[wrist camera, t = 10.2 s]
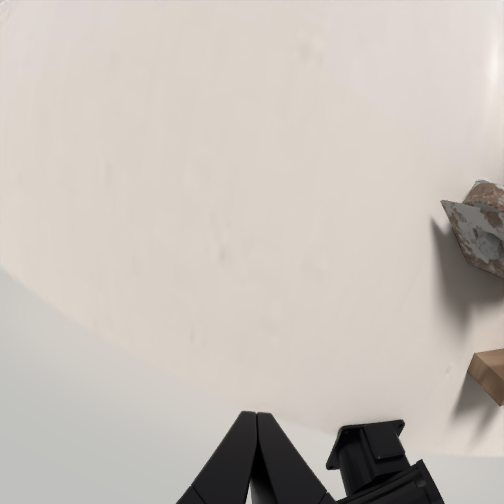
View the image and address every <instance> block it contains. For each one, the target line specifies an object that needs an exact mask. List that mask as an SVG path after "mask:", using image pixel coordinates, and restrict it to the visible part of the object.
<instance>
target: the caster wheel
mask: <svg viewBox="0 0 504 504" xmlns="http://www.w3.org/2000/svg"><path fill="white" fill-rule="evenodd" d="M440 202H441V204H442V206H443V208H444V210H445V212H446V214H447V216H448V218H449V221H450V223H451V225H452V227H453V230H454V232H455V234H456V237H457V239H458V241H459V244H460V246H461V249H462V251H463V254H464V256H465V259H466V261H467V262H468V263H469V264H471V265H473V266H476V267H478V268H481V269H483V270H486V271H488V272H490V273H493V274H495V275H497V276H500V277H502V278H504V186H502V185H498V184H494V183H490V182H488V181H485V180H482V179H478V180H477V181H476V182H475V184H474V186H473V187H472V189H471V191H470V192H469V194H468V196H467V197H466V199H465V200H464V202H463V204H460V203H455V202H450V201H445V200H442V201H440Z"/></svg>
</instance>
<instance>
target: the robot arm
mask: <svg viewBox="0 0 504 504" xmlns="http://www.w3.org/2000/svg"><path fill="white" fill-rule="evenodd" d="M404 426H405V423H404V421H403V420H395V421H387V422H379V423H369V424H359V425H346V426H343V427H342V428H341V429H340V431H339V433H338V436H337V439H336V441H335V444H334V446H333V449H332V451H331V454H330V456H329V458H328V461H327V463H326V468H327V470H336V469H340V471H341V476H342V480H343V484H344V488H345V492H346V495H347V497H345V498H343V499H340V500H338V501H335V500H334V499H333V498H332V496H331V495H330V493H328V492H327V490H326V489H325V487H324V486H323V485H322V483H321V482H320V481H319V479H318V478H317V477H316V476H315V474H314V473H313V472H312V470H311V469H310V468H309V466H308V465H307V463H306V462H305V461H304V459H303V458H302V457H301V455H300V454H299V453H298V451H297V450H296V449H295V447H294V446H293V444H292V443H291V441H290V440H289V438H288V437H287V436H286V434H285V433H284V431H283V430H282V429H281V427H280V426H279V424H278V423H277V421H276V420H275V418H274V417H273V415H272V414H271V413H265V412H258V413H257V414H256V413H255V412H252V411H242V412H241V413H240V414H239V416H238V418H237V419H236V421H235V422H234V424H233V425H232V427H231V428H230V430H229V431H228V433H227V434H226V436H225V437H224V439H223V440H222V442H221V443H220V445H219V446H218V447H217V449H216V450H215V452H214V453H213V455H212V456H211V458H210V459H209V460H208V462H207V463H206V465H205V466H204V467H203V469H202V470H201V472H200V473H199V474H198V476H197V477H196V478H195V480H194V481H193V483H192V484H191V486H190V487H189V488H188V489H187V490H186V492H185V493H184V494H183V496H182V497H181V498H180V499H179V500H178V502H177V503H176V504H245V503H246V499H247V494H248V489H249V484H250V486H251V497H252V504H445V503H444V501H443V499H442V497H441V495H440V493H439V491H438V489H437V487H436V485H435V483H434V481H433V479H432V477H431V475H430V473H429V471H428V470H427V468H426V466H425V464H424V462H423V460H422V459H421V460H419V461H417V462H416V464H414V465H412V466H410V464H409V462H408V459H407V457H406V455H405V450H404V448H403V446H402V444H401V442H400V440H399V438H398V437H399V435H400V433H401V432H402V430H403V428H404ZM326 492H327V493H326Z"/></svg>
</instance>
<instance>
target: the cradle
mask: <svg viewBox="0 0 504 504" xmlns="http://www.w3.org/2000/svg"><path fill="white" fill-rule="evenodd" d="M467 372H468V373H469V374H470V375H471V376H472V377H473V378H474V379H475V380H476V381H477V382H478V383H479V384H480V385H481V386H482V387H483V388H484V390H485V391H486V392H487V393H488V394H489V395H490V396H491V397H492V398H493V399H494V400H495V401H496V403H497V404H498V405H499V406H503V405H504V349H499V350H493V351H487V352H480V353H475V354H474V356H473V359H472V361H471V364H470V366H469V368H468V371H467Z"/></svg>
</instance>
